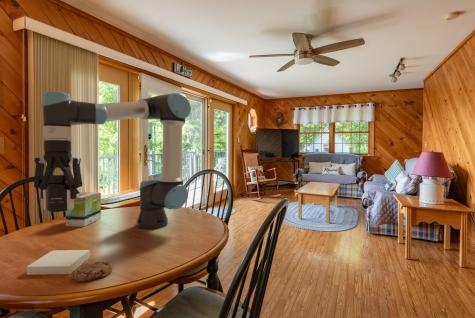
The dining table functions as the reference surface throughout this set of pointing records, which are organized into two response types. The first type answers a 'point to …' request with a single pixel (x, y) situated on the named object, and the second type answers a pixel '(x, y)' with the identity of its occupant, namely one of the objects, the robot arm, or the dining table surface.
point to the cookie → (92, 271)
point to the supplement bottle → (56, 193)
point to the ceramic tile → (58, 262)
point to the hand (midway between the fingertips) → (59, 208)
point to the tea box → (84, 209)
